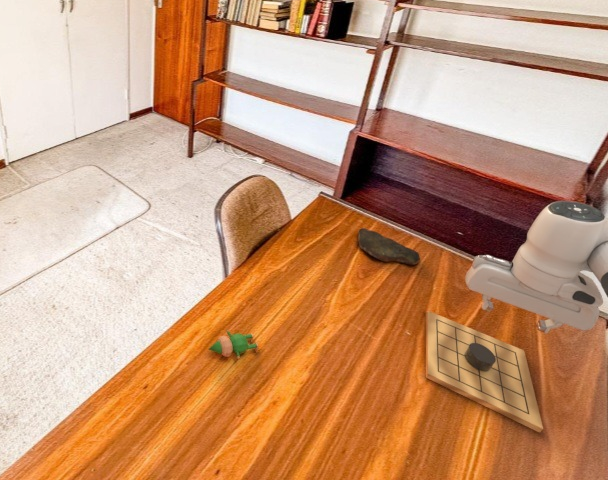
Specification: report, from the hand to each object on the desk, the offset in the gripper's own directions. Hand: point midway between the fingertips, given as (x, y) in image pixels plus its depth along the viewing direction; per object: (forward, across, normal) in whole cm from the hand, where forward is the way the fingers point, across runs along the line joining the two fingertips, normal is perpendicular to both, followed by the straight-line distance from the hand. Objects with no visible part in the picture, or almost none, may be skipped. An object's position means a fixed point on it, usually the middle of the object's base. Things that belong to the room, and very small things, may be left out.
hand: (512, 319), depth 86 cm
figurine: (+15, -52, -30) cm, 62 cm away
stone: (+16, -23, +28) cm, 40 cm away
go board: (+16, -2, -1) cm, 17 cm away
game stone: (+15, -2, -1) cm, 15 cm away
